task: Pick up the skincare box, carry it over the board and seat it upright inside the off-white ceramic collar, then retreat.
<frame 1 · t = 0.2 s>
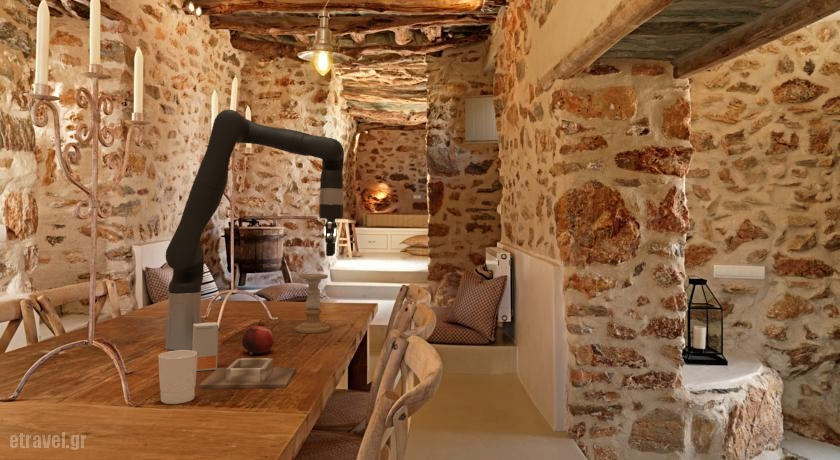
hand: (330, 255, 177), 29 cm above the table, fingers open, 8 cm apart
skincare box: (205, 369, 149), on the table
candle holder: (312, 331, 205), on the table
socket board: (250, 378, 140), on the table
white cup: (177, 400, 124), on the table
fruit: (258, 354, 168), on the table
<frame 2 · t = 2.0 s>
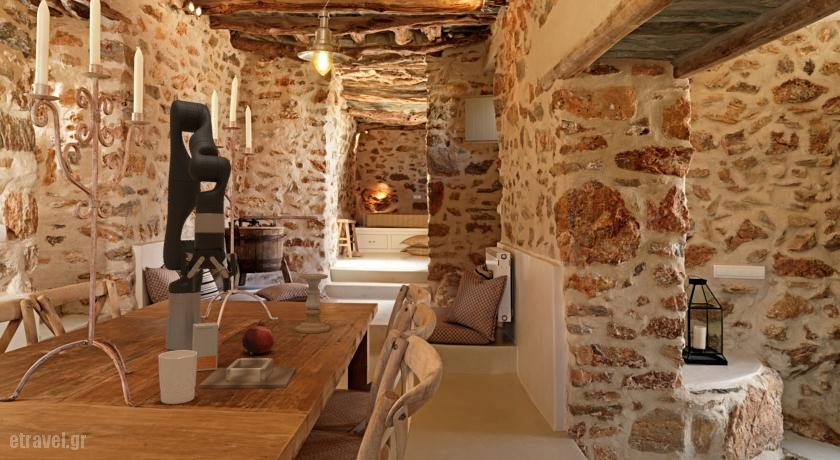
hand: (209, 292, 150), 20 cm above the table, fingers open, 8 cm apart
nothing on the table moved.
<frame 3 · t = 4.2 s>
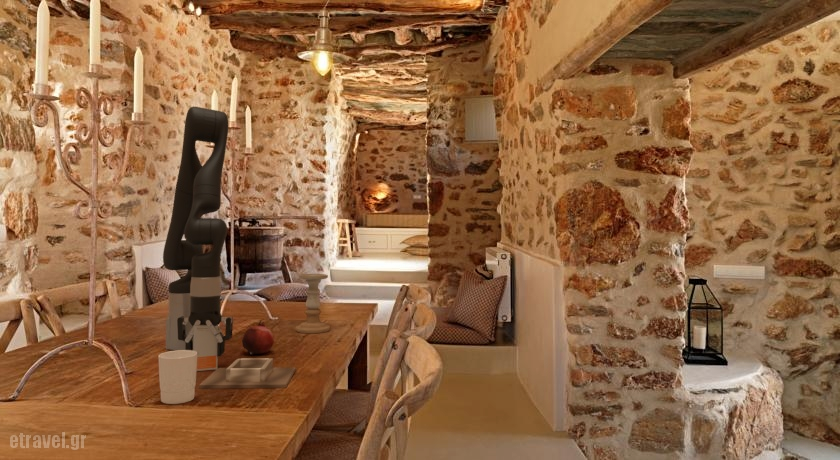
hand: (205, 355, 149), 3 cm above the table, fingers closed on skincare box, 7 cm apart
skincare box: (205, 369, 149), on the table, touching gripper
everything else where it was.
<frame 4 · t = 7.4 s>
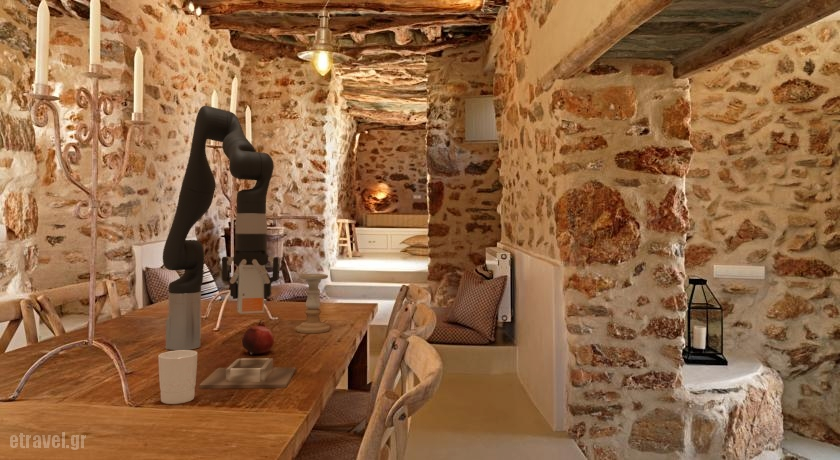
hand: (250, 298, 140), 20 cm above the table, fingers closed on skincare box, 7 cm apart
skincare box: (250, 313, 140), point 16 cm above the table, touching gripper
everything else where it was.
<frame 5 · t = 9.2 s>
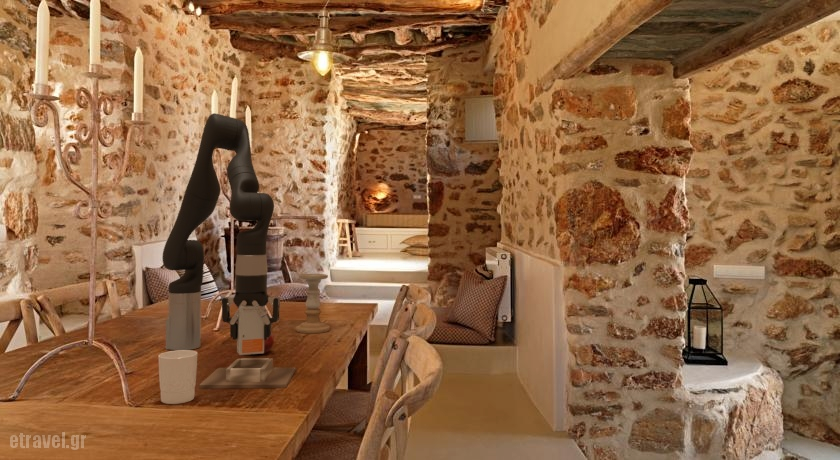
hand: (250, 339, 140), 10 cm above the table, fingers closed on skincare box, 7 cm apart
skincare box: (250, 353, 140), point 6 cm above the table, touching gripper
everything else where it was.
when the fingers open (5 cm above the table, at t = 10.8 s): skincare box stays where it is, resting on socket board.
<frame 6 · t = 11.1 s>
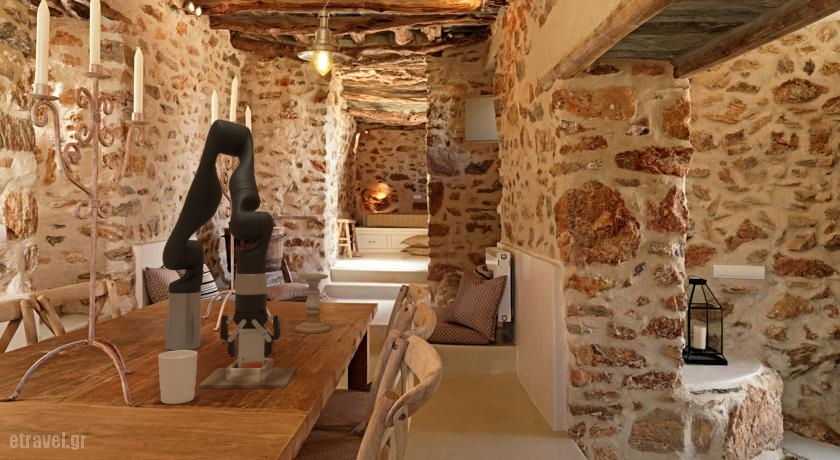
hand: (250, 356, 140), 6 cm above the table, fingers open, 8 cm apart
skincare box: (250, 376, 140), point 1 cm above the table, touching socket board
everything else where it was.
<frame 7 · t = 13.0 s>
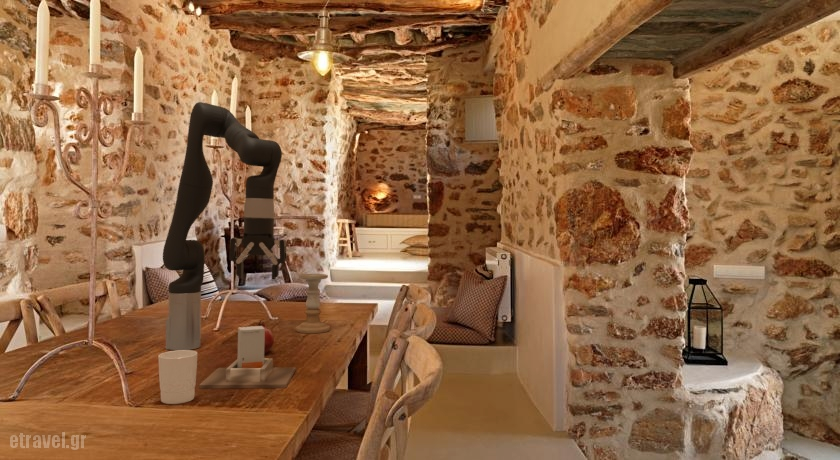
hand: (257, 278, 147), 24 cm above the table, fingers open, 8 cm apart
nothing on the table moved.
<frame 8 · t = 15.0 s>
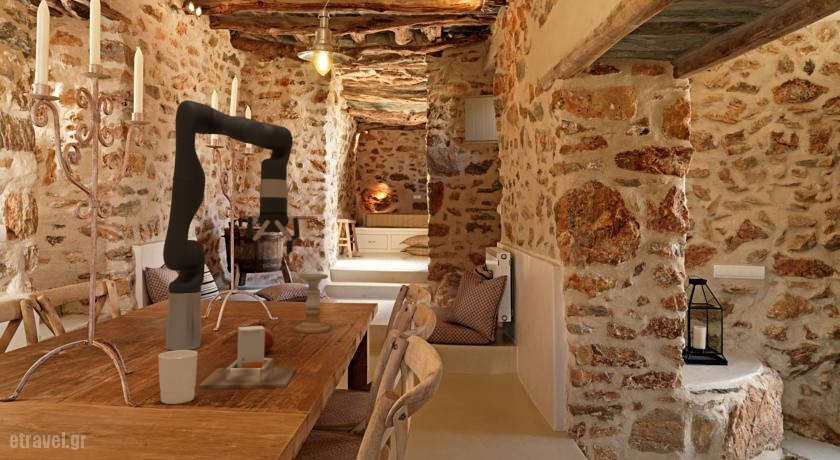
hand: (273, 254, 158), 30 cm above the table, fingers open, 8 cm apart
nothing on the table moved.
at the end: skincare box 0.1 cm off-centre on the socket board, point 0.6 cm above the socket board's base; skincare box tilted 0°; the gripper is holding nothing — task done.
